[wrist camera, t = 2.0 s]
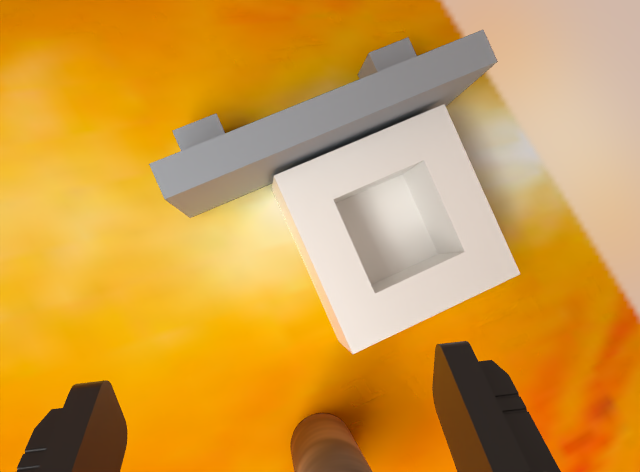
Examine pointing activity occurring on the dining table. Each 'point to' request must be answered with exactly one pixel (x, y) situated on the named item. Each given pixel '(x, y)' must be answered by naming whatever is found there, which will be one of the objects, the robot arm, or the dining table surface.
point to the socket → (393, 228)
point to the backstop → (316, 123)
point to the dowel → (325, 446)
